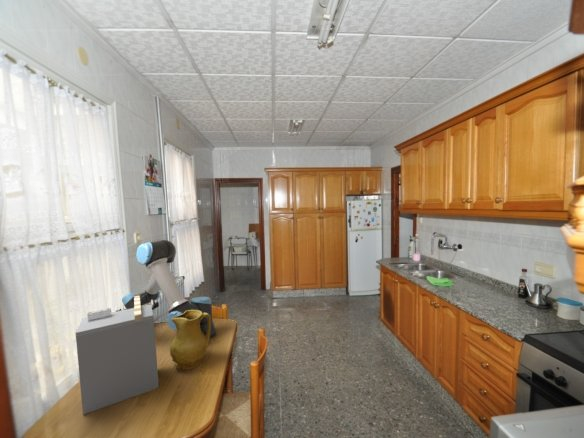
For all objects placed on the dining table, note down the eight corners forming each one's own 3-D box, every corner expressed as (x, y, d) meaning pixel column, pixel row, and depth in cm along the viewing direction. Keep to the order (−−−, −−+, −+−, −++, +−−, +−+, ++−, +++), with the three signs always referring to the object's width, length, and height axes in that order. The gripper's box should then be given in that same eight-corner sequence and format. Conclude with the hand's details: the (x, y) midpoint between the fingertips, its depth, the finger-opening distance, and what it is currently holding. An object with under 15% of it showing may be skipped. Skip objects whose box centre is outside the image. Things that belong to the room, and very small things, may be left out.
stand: (89, 390, 114) (82, 318, 113) (156, 369, 128) (151, 304, 126) (83, 414, 101) (75, 332, 99) (158, 387, 114) (153, 315, 113)
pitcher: (179, 353, 140) (177, 307, 139) (214, 352, 141) (213, 307, 139) (163, 374, 123) (161, 322, 121) (203, 374, 124) (202, 322, 122)
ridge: (88, 319, 112) (88, 312, 112) (111, 314, 116) (110, 307, 116) (87, 321, 110) (87, 314, 110) (111, 316, 114) (110, 309, 114)
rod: (134, 301, 132) (134, 296, 132) (140, 300, 134) (139, 295, 133) (134, 321, 107) (134, 315, 106) (141, 320, 108) (141, 314, 108)
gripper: (162, 314, 160) (164, 306, 143) (113, 326, 147) (109, 318, 130) (161, 302, 162) (163, 293, 146) (112, 312, 150) (108, 303, 133)
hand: (137, 305), depth 138 cm, fingers open, 13 cm apart
